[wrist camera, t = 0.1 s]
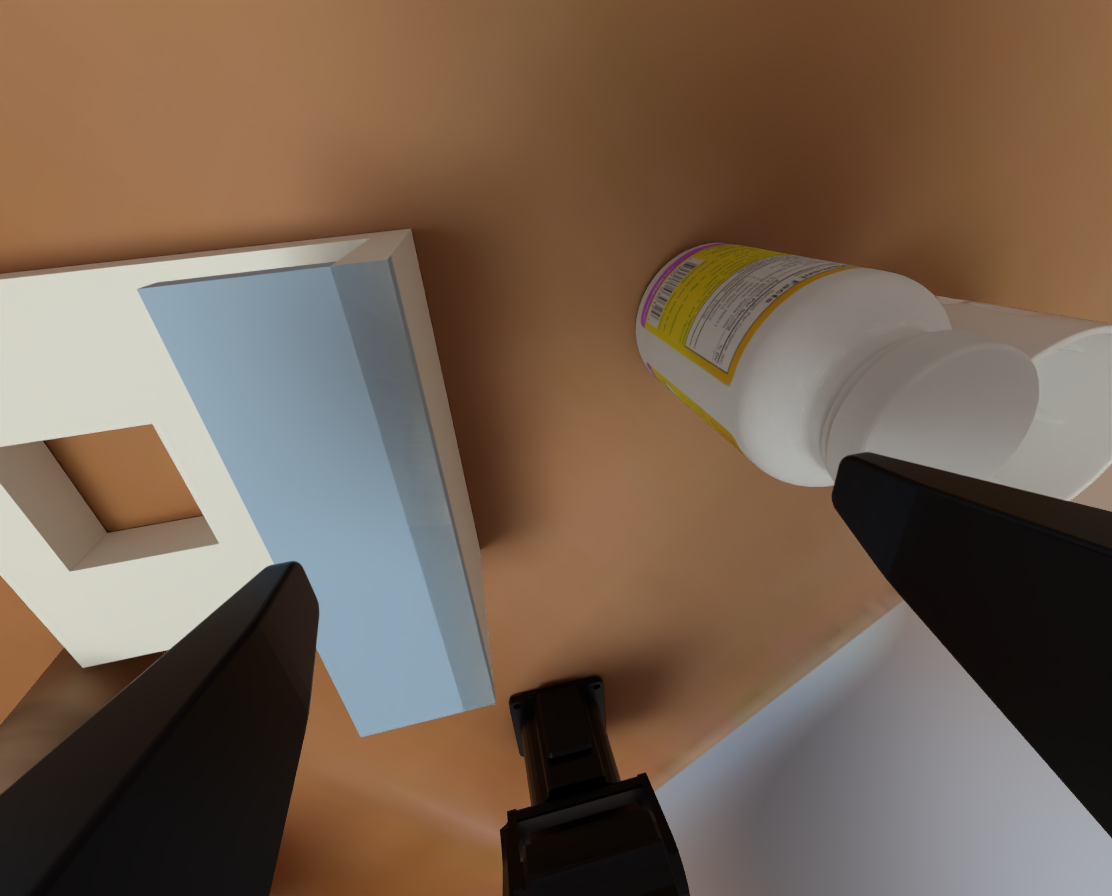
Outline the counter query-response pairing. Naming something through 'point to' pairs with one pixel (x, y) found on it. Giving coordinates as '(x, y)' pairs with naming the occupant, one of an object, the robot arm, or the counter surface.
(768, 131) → the counter surface
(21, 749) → the peg
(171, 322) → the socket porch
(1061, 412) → the white cup
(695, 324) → the supplement bottle
